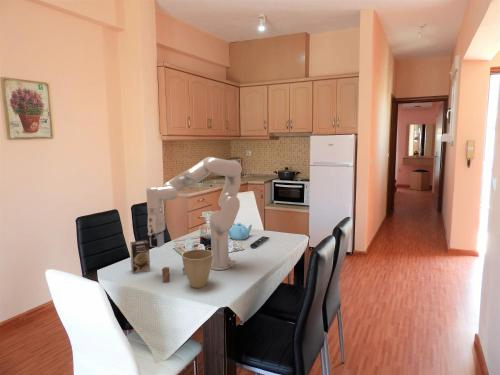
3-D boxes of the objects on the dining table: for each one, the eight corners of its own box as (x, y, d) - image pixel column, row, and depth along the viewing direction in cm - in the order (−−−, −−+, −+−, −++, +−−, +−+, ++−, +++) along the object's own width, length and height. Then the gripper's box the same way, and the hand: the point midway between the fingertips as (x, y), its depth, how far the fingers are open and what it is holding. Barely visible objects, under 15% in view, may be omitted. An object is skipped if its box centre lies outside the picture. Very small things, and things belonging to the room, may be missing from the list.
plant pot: (177, 288, 175) (175, 256, 172) (193, 277, 188) (192, 248, 186) (203, 293, 169) (202, 260, 166) (219, 281, 182) (218, 251, 180)
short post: (189, 273, 194) (189, 266, 193) (187, 275, 191) (187, 268, 191) (185, 273, 194) (184, 266, 194) (183, 274, 192) (182, 267, 191)
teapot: (224, 239, 257) (224, 224, 255) (233, 234, 270) (233, 220, 269) (244, 241, 251) (243, 226, 249) (252, 236, 264) (252, 221, 263)
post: (169, 280, 185) (169, 267, 184) (167, 282, 182) (166, 269, 181) (165, 280, 185) (164, 267, 184) (162, 282, 183) (162, 268, 182)
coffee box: (133, 274, 195) (131, 244, 193) (131, 270, 200) (129, 241, 198) (150, 270, 199) (149, 242, 197) (148, 267, 205) (146, 239, 202)
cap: (164, 244, 191) (163, 232, 190) (159, 247, 186) (158, 234, 185) (155, 243, 192) (154, 231, 191) (150, 246, 187) (149, 234, 187)
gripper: (152, 214, 177) (155, 250, 180) (169, 207, 194) (171, 240, 196) (139, 213, 179) (141, 249, 182) (157, 207, 196) (159, 239, 198)
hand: (157, 244), depth 189 cm, fingers closed on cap, 5 cm apart
